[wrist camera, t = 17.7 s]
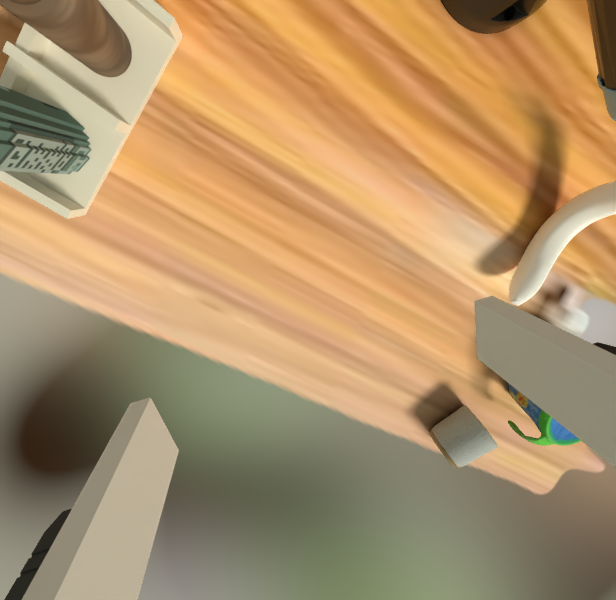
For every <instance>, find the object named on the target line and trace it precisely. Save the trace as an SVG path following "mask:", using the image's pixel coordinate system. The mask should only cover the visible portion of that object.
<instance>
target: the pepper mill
mask: <svg viewBox="0 0 616 600" xmlns="http://www.w3.org/2000/svg"><path fill="white" fill-rule="evenodd" d="M0 5H1V6H3V7H4V8H5V9H7V10H8V11H10V12H11V13H12V14H14V15H15V16H17V17H18V18H19V19H21V20H22V21H24V22H25V23H26V24H28V25H29V26H31V27H32V28H33V29H35V30H36V31H38V32H39V33H40V34H42V35H43V36H45V37H46V38H47V39H49V40H50V41H52V42H53V43H54V44H56V45H57V46H59V47H60V48H61V49H63V50H64V51H66V52H67V53H68V54H70V55H71V56H73V57H74V58H75V59H77V60H78V61H79V62H81V63H82V64H84V65H85V66H86V67H88V68H89V69H91V70H92V71H94V72H95V73H97V74H99V75H101V76H104V77H117V76H120V75H121V74H123V73H124V72H125V71H126V70H127V69H128V67H129V65H130V63H131V58H132V50H131V45H130V42H129V39H128V37H127V35H126V34H125V32H124V31H123V30H122V28H121V27H120V26H119V25H118V24H117V22H116V21H115V20H114V19H113V17H112V16H111V15H110V14H109V13H108V11H107V10H106V9H105V8H104V7H103V5H102V4H101V3H100V2H99V1H98V0H0Z"/></svg>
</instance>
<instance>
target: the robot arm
mask: <svg viewBox="0 0 616 600" xmlns="http://www.w3.org/2000/svg"><path fill="white" fill-rule="evenodd" d="M546 1H547V0H442V2H443V4H444V6H445V7H446V9H447V10H448V12H449V13H450V15H451V16H452V17H453V18H454V19H455V20H456V21H457V22H458V23H459V24H461V25H462V26H464V27H465V28H467V29H469V30H471V31H474V32H477V33H483V34H491V33H498V32H501V31H504V30H507V29H509V28H511V27H513V26H514V25H516V24H518V23H519V22H521V21H522V20H524V19H526V18H527V17H529V16H530V15H532V14H533V13H534V12H535V11H536V10H538V9H539V8H540V7H541V6H542V5H543V4H544V3H545V2H546ZM587 5H588V11H589V17H590V23H591V29H592V35H593V41H594V47H595V53H596V59H597V65H598V71H599V74H598V76H597V81H598V85H599V87H600V88H601V89H602V90H603V93H604V97H605V102H606V106H607V110H608V113H609V115H610V116H611V118H612V119H613V120H615V121H616V0H587ZM475 323H476V344H477V359H479V360H480V361H481V362H482V363H484V364H485V365H486V366H488V367H489V368H490V369H491V370H493V371H494V372H495V373H496V374H498V375H499V376H500V377H501V378H503V379H504V380H505V381H507V382H508V383H509V384H510V385H512V386H513V387H514V388H515V389H517V390H518V391H519V392H520V393H522V394H523V395H524V396H525V397H527V398H528V399H529V400H531V401H532V402H533V403H534V404H536V405H537V406H538V407H539V408H541V409H542V410H543V411H544V412H546V413H547V414H548V415H549V416H551V417H552V418H553V419H555V420H556V421H557V422H558V423H560V424H561V425H562V426H563V427H565V428H566V429H567V430H568V431H570V432H571V433H572V434H573V435H575V436H576V437H577V438H579V439H580V440H581V441H582V442H584V443H585V444H586V445H587V446H589V447H590V448H591V449H592V450H594V451H595V452H596V453H598V454H599V455H600V456H601V457H603V458H604V459H605V460H606V461H608V462H609V463H610V464H611V465H613V466H614V467H615V468H616V347H613V346H610V345H606V344H602V343H594V344H591V343H589V342H587V341H585V340H583V339H581V338H579V337H577V336H575V335H573V334H571V333H568V332H566V331H564V330H562V329H560V328H558V327H556V326H554V325H552V324H550V323H548V322H546V321H543V320H541V319H539V318H537V317H535V316H533V315H531V314H529V313H527V312H525V311H523V310H521V309H518V308H516V307H514V306H512V305H510V304H508V303H506V302H504V301H502V300H500V299H498V298H496V297H493V296H490V297H487V298H483V299H480V300H477V301H475ZM178 451H179V450H178V448H177V446H176V445H175V443H174V441H173V439H172V437H171V435H170V433H169V431H168V430H167V428H166V426H165V424H164V422H163V420H162V418H161V416H160V414H159V413H158V411H157V409H156V407H155V405H154V403H153V401H152V400H151V398H148V399H144V400H141V401H137V402H134V403H130V405H129V407H128V409H127V410H126V412H125V414H124V416H123V418H122V419H121V421H120V423H119V425H118V427H117V428H116V430H115V432H114V434H113V436H112V437H111V439H110V441H109V443H108V445H107V447H106V448H105V450H104V452H103V454H102V456H101V457H100V459H99V461H98V463H97V465H96V466H95V468H94V470H93V472H92V474H91V475H90V477H89V479H88V481H87V483H86V484H85V486H84V488H83V490H82V492H81V494H80V495H79V497H78V499H77V501H76V502H75V504H74V506H73V508H72V509H69V510H66V511H64V512H62V513H61V514H60V515H59V517H58V518H57V519H56V520H55V521H54V522H53V523H52V524H51V526H50V527H49V528H48V529H47V530H46V531H45V532H44V534H43V536H42V537H41V539H40V541H39V542H38V544H37V546H36V548H35V549H34V551H33V553H32V557H31V558H29V559H28V561H27V563H26V564H25V566H24V568H23V569H22V571H21V576H20V577H19V578H17V579H16V581H15V583H14V584H13V586H12V588H11V589H10V591H9V593H8V595H7V596H6V598H5V600H137V599H138V596H139V592H140V588H141V585H142V581H143V578H144V574H145V570H146V567H147V563H148V560H149V556H150V552H151V549H152V545H153V541H154V538H155V534H156V531H157V527H158V523H159V520H160V516H161V513H162V509H163V505H164V502H165V498H166V495H167V491H168V487H169V484H170V480H171V476H172V473H173V469H174V466H175V462H176V459H177V455H178Z"/></svg>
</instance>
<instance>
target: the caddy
mask: <svg viewBox="0 0 616 600" xmlns="http://www.w3.org/2000/svg"><path fill="white" fill-rule="evenodd" d="M98 1H99V2H100V3H101V4H102V5H103V7H104V8H105V9H106V10H107V11H108V13H109V14H110V15H111V16H112V17H113V19H114V20H115V21H116V22H117V24H118V25H119V26H120V27H121V28H122V30H123V31H124V32H125V34H126V35H127V37H128V39H129V42H130V45H131V50H132V58H131V63H130V65H129V67H128V69H127V70H126V71H125V72H124V73H123V74H121V75H120V76H117V77H104V76H101V75H99V74H97V73H95V72H94V71H92V70H91V69H89V68H88V67H86V66H85V65H84V64H82V63H81V62H79V61H78V60H77V59H75V58H74V57H73V56H71V55H70V54H68V53H67V52H66V51H64V50H63V49H61V48H60V47H59V46H57V45H56V44H54V43H53V42H52V41H50V40H49V39H47V38H46V37H45V36H43V35H42V34H40V33H39V32H38V31H36V30H35V29H33V28H32V27H31V26H29V25H28V24H26V23H24V25H23V28H22V30H21V32H20V34H19V37H18V39H17V41H16V43H15V45H14V44H12V43H10V42H8V41H6V44H5V46H4V48H3V50H2V51H3V52H4V53H5V54H7V55H8V56H10V57H9V59H8V61H7V63H6V66H5V68H4V70H3V72H2V74H1V77H0V85H1V86H3V87H6V88H8V89H11V90H13V91H16V92H18V93H21V94H24V95H26V96H29V97H31V98H34V99H36V100H39V101H41V102H44V103H46V104H49V105H51V106H54V107H57V108H59V109H62V110H64V111H67V112H68V113H69V114H70V115H71V116H72V117H73V118H74V119H76V120H77V121H78V122H79V123H80V124H81V125H82V126H83V127H84V128H85V129H84V130H83V132H84V133H85V134H86V135H87V136H88V137H89V139H88V140H87V141H88V142H89V143H90V145H89V146H88V147H89V148H90V149H92V150H91V151H90V152H89V153H88V154H87V156H88V157H89V158H90V159H89V160H88V161H87V162H86V164H85V165H84V166H83V167H82V168H81V169H80V170H79V171H78V172H73V171H72V172H71V173H70V174H53V173H33V172H14V171H0V181H2V182H4V183H5V184H7V185H9V186H11V187H12V188H14V189H16V190H18V191H19V192H21V193H23V194H25V195H26V196H28V197H30V198H32V199H33V200H35V201H37V202H39V203H40V204H42V205H44V206H46V207H47V208H49V209H51V210H53V211H54V212H56V213H58V214H59V215H61V216H63V217H65V218H66V219H68V218H73V217H78V216H84V215H86V213H87V211H88V209H89V207H90V205H91V204H92V202H93V200H94V198H95V196H96V194H97V193H98V191H99V189H100V187H101V185H102V184H103V182H104V180H105V178H106V176H107V174H108V173H109V171H110V169H111V167H112V165H113V163H114V162H115V160H116V158H117V156H118V154H119V153H120V151H121V149H122V147H123V145H124V143H125V142H126V140H127V138H128V136H129V134H130V132H131V131H132V129H133V127H134V125H135V123H136V122H137V120H138V118H139V116H140V114H141V112H142V111H143V109H144V107H145V105H146V103H147V101H148V100H149V98H150V96H151V94H152V92H153V90H154V89H155V87H156V85H157V83H158V81H159V80H160V78H161V76H162V74H163V72H164V70H165V69H166V67H167V65H168V63H169V61H170V59H171V58H172V56H173V54H174V52H175V50H176V49H177V47H178V45H179V43H180V41H181V39H182V38H183V36H182V33H181V31H180V29H179V27H178V25H177V22H176V20H175V18H174V17H173V16H172V15H170V14H169V13H168V12H167V11H166V10H165V9H163V8H162V7H161V6H160V5H159V4H158V3H156V2H155V1H154V0H98Z"/></svg>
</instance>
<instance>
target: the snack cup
mask: <svg viewBox="0 0 616 600" xmlns="http://www.w3.org/2000/svg"><path fill="white" fill-rule="evenodd" d="M508 384H509V383H508ZM509 392H510V395H511V396H512V398H513V399H514V400H515V401H516V402H517V403H518V404H519V406H520V407H521V408H522V409H523V410H524V411H525V412H526V413H527V414H528V415H529V416H530V418H531V419H532V420H533V421H534V422H535V424H536V426H537V427H538V429H539V430H540V432H541V437H540V438H538V439H537V438H533V437H528V436H525V435H524V434H523V433H522V432H521V431H520V430H519V428H518V427H517V426H516V425H515V424H514V423H513V422H511V421H508V423H509V425H510V426H511V427H512V429H513V430H514V431H515V432H516V433H517V434H519V435H520V436H521V437H523V438H524V439H526V440H528V441H529V442H532V443H534V444H537V445H543V446H544V445H551V444H557V445H571V444H575V443H577V442H580V441H581V440H580V439H579V438H577V437H576V436H575V435H573V434H572V433H571V432H570V431H568V430H567V429H566V428H565V427H563V426H562V425H561V424H560V423H558V422H557V421H556V420H555V419H553V418H552V417H551V416H549V415H548V414H547V413H546V412H544V411H543V410H542V409H541V408H539V407H538V406H537V405H536V404H534V403H533V402H532V401H531V400H529V399H528V398H527V397H525V396H524V395H523V394H522V393H520V392H519V391H518V390H517V389H515V388H514V387H513V386H512V385H510V384H509Z"/></svg>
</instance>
